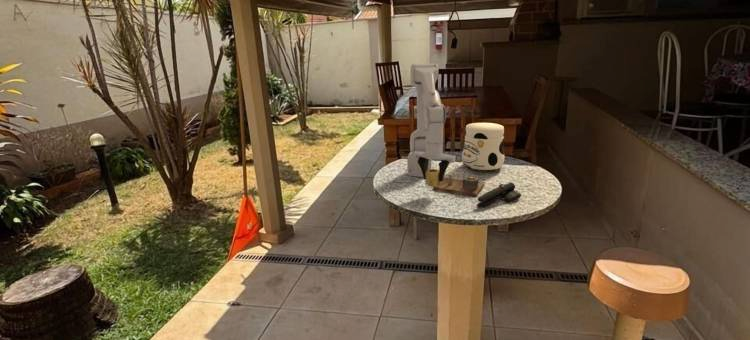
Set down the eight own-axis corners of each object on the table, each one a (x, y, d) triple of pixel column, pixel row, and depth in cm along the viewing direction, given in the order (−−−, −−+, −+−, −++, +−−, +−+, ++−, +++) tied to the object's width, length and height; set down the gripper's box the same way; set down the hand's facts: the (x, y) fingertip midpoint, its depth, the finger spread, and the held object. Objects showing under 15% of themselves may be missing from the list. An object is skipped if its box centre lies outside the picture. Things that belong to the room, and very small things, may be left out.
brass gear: (423, 185, 134) (423, 172, 133) (428, 180, 139) (429, 167, 137) (437, 187, 132) (438, 174, 131) (442, 183, 136) (443, 169, 135)
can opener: (507, 193, 138) (508, 178, 136) (523, 199, 132) (524, 184, 130) (469, 204, 129) (470, 189, 128) (484, 212, 124) (486, 195, 122)
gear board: (433, 189, 142) (433, 176, 141) (443, 180, 151) (443, 167, 150) (476, 196, 135) (477, 182, 133) (484, 186, 144) (485, 173, 142)
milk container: (455, 170, 162) (457, 128, 156) (469, 159, 176) (471, 120, 170) (497, 177, 153) (500, 132, 148) (507, 165, 167) (511, 124, 161)
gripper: (409, 142, 130) (409, 180, 135) (451, 147, 124) (449, 186, 128) (417, 137, 136) (417, 173, 141) (457, 141, 130) (456, 179, 134)
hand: (433, 179), depth 135 cm, fingers closed on brass gear, 5 cm apart
